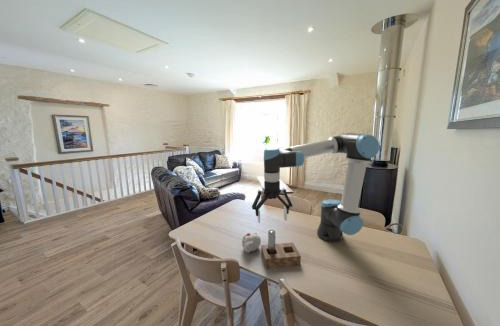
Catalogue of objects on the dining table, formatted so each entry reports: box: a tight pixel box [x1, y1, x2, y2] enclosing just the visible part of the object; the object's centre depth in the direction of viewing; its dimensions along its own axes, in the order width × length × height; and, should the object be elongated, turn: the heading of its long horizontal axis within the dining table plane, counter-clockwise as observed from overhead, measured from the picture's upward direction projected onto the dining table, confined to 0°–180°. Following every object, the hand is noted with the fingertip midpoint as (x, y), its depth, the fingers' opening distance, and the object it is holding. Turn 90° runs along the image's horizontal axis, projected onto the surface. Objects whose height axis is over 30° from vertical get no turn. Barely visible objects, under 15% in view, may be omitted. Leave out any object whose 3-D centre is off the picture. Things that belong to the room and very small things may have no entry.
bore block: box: [260, 242, 302, 269], centre depth 107 cm, size 18×12×5 cm, turn 97°
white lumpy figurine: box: [241, 232, 262, 254], centre depth 117 cm, size 9×11×15 cm
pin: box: [267, 229, 276, 254], centre depth 105 cm, size 4×4×15 cm
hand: (272, 220), depth 103 cm, fingers open, 13 cm apart
